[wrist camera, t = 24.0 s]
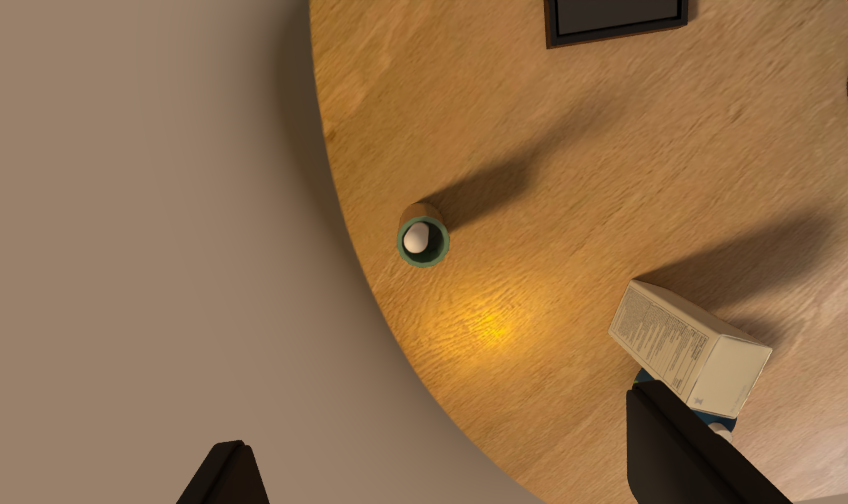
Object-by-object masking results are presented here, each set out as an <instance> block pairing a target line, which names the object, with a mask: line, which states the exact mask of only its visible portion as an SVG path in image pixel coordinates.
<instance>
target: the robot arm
mask: <svg viewBox="0 0 848 504" xmlns="http://www.w3.org/2000/svg"><path fill="white" fill-rule="evenodd" d="M626 411H627V479H628V483H629V487H630V489H631V492H632V494H633V495H634V497H635V499H636V500H637V502H638V504H793V503H792V502H791V501H790V500H789V499H788V498H787V497H785V496H784V495H783V494H782V493H781V492H780V491H779V490H778V489H777V488H776V487H775V486H774V485H773V484H772V483H771V482H770V481H769V480H768V479H767V478H766V477H765V476H764V475H763V474H762V473H761V472H759V471H758V470H757V469H756V468H755V467H754V466H753V465H752V464H751V463H750V462H749V461H748V460H747V459H746V458H745V457H744V456H743V455H742V454H741V453H740V452H739V451H738V450H737V449H736V448H735V447H733V446H732V445H731V444H730V443H729V442H728V441H727V440H726V439H725V438H724V437H722V436H721V435H719V434H717V433H715V432H714V431H713V430H712V429H711V428H710V427H709V426H708V425H707V424H706V423H705V422H704V421H703V420H702V419H701V418H700V417H699V416H698V415H696V414H695V413H694V412H693V411H692V410H691V409H690V408H689V407H688V406H687V405H686V404H685V403H684V402H683V401H682V400H681V399H680V398H679V397H678V396H677V395H676V394H675V393H674V392H673V391H672V390H671V389H670V388H669V387H668V386H667V385H666V384H665V383H664V382H662V381H661V380H658V379H657V380H650V381H643V382H636V383H634V384H633V386H632V390H628V391H627V394H626ZM176 504H270V503H269V500H268V497H267V494H266V491H265V488H264V485H263V482H262V479H261V476H260V473H259V470H258V466H257V464H256V460H255V457H254V454H253V451H252V449H251V447H250V446H249V445H245V444H244V442H243V441H242V440H236V441H229V442H222V443H217V444H215V445H214V446H213V448H212V449H211V451H210V452H209V454H208V455H207V457H206V458H205V460H204V461H203V463H202V464H201V466H200V467H199V469H198V471H197V472H196V474H195V475H194V477H193V478H192V480H191V481H190V483H189V484H188V486H187V487H186V489H185V490H184V492H183V494H182V495H181V497H180V498H179V500H178V501H177V503H176Z"/></svg>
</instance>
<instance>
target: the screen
mask: <svg viewBox="0 0 848 504" xmlns="http://www.w3.org/2000/svg"><path fill="white" fill-rule="evenodd" d="M557 11H558V31H559V35H563V34H569V33H576V32H582V31H588V30H594V29H601V28H607V27H613V26H620V25H626V24H632V23H638V22H645V21H651V20H657V19H664V18H670V17H675V16H677V0H557Z"/></svg>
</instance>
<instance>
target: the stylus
mask: <svg viewBox="0 0 848 504" xmlns="http://www.w3.org/2000/svg"><path fill="white" fill-rule="evenodd" d="M428 233H429V223H428V222H426V221H423V222H416V223H414V224H413V225H412V226H411V228H410V229H409V231H408V232H407V234H406V235H405V237H404V245H405V247H406V248H407V250H409V251H410V252H412V253H419V252H422V251H423V250H424V249H425V248H426V246H427V244H428Z"/></svg>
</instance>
